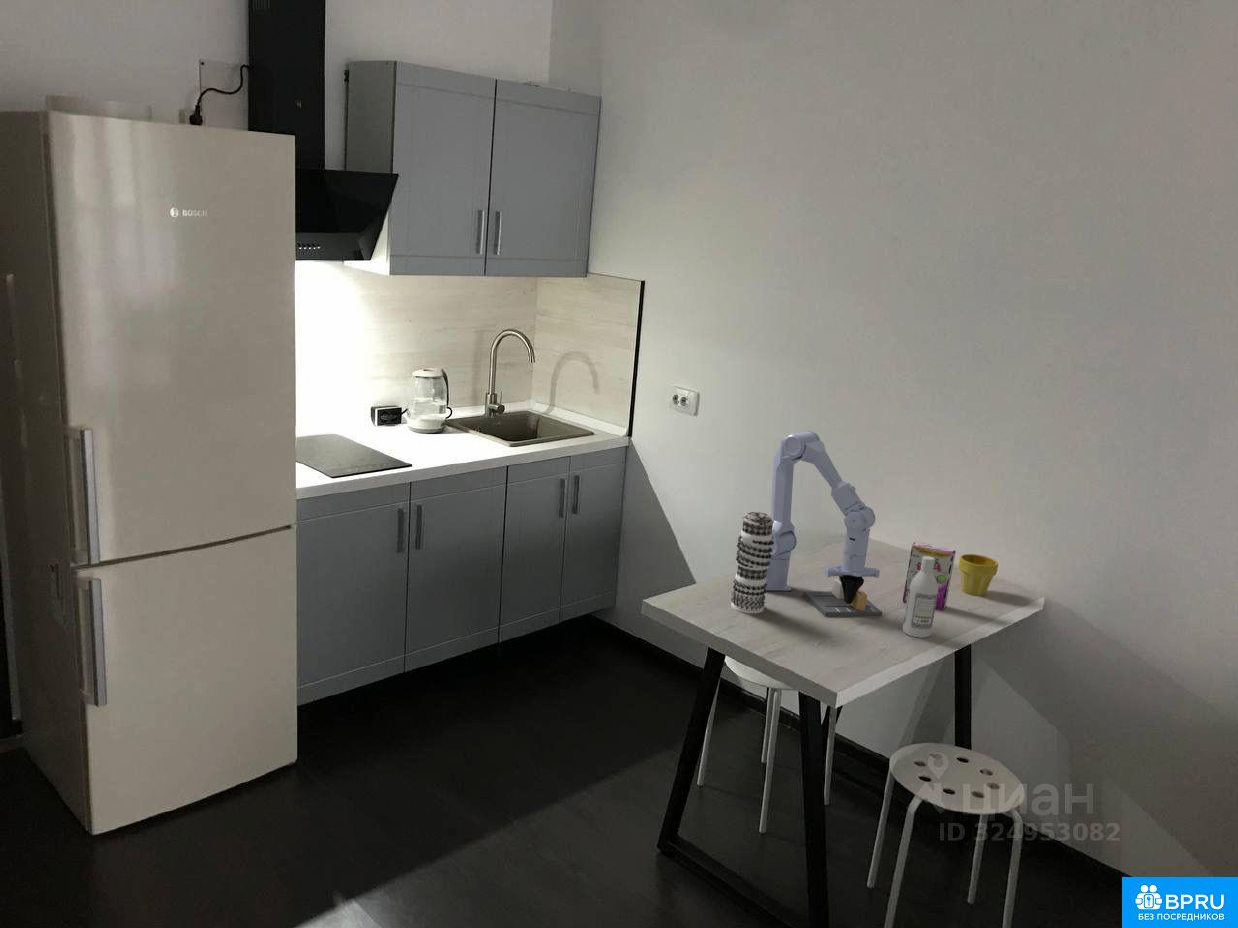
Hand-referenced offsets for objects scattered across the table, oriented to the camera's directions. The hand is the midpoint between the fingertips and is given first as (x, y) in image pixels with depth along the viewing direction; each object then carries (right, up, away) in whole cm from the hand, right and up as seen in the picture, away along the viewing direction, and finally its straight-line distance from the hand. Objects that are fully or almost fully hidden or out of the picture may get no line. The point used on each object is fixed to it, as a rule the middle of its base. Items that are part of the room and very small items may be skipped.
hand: (847, 602), depth 271 cm
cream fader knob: (-1, +1, +8) cm, 8 cm away
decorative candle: (-27, -1, -4) cm, 27 cm away
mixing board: (-1, -1, +4) cm, 4 cm away
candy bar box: (+23, -2, +11) cm, 26 cm away
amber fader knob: (+3, -1, +1) cm, 3 cm away
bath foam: (+15, -6, -11) cm, 19 cm away
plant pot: (+42, -1, +25) cm, 49 cm away
